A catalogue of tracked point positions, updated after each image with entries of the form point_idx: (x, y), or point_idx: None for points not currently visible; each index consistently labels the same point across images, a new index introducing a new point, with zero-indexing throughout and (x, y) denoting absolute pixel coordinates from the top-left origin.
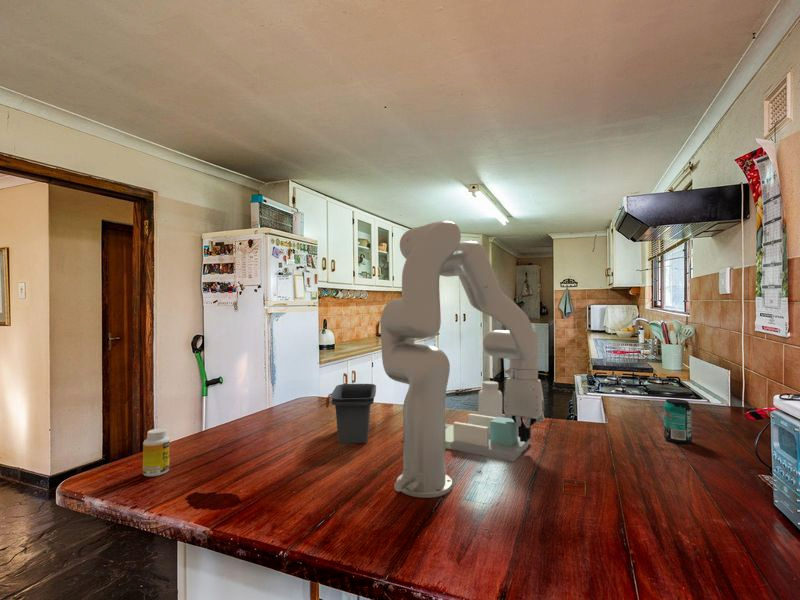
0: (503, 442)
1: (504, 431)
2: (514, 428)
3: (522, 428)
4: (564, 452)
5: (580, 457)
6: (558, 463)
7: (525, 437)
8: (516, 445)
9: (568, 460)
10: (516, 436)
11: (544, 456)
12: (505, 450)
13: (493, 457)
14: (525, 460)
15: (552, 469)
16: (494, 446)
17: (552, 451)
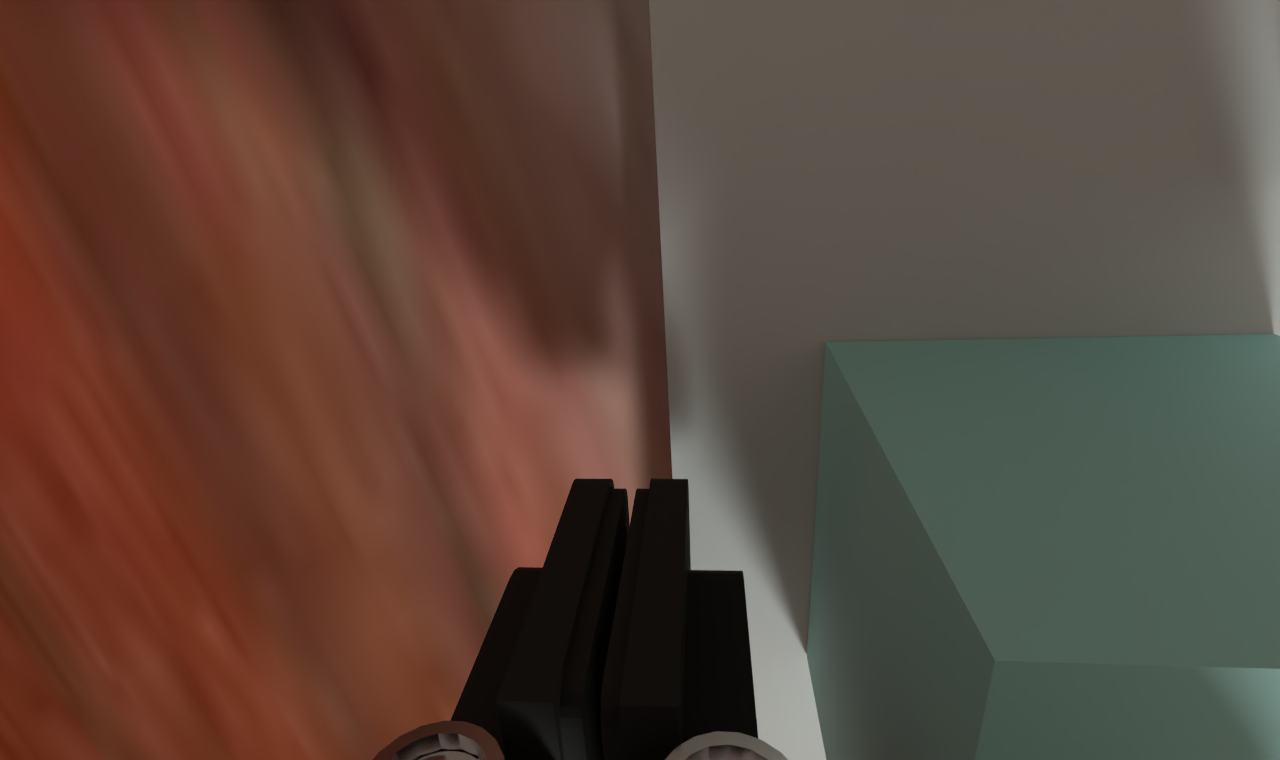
0: (1004, 358)
1: (1114, 479)
2: (878, 744)
3: (605, 689)
4: (292, 674)
5: (106, 615)
6: (157, 311)
7: (563, 526)
8: (759, 443)
9: (136, 472)
10: (823, 668)
11: (397, 456)
12: (874, 44)
13: None
14: (533, 157)
15: (83, 22)
16: (1154, 159)
17: (400, 648)
